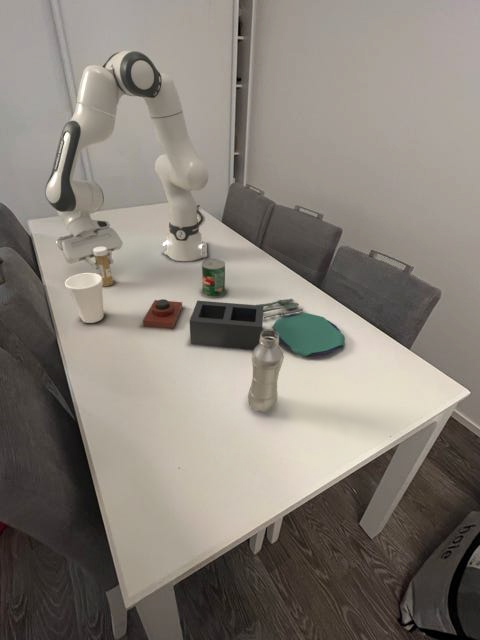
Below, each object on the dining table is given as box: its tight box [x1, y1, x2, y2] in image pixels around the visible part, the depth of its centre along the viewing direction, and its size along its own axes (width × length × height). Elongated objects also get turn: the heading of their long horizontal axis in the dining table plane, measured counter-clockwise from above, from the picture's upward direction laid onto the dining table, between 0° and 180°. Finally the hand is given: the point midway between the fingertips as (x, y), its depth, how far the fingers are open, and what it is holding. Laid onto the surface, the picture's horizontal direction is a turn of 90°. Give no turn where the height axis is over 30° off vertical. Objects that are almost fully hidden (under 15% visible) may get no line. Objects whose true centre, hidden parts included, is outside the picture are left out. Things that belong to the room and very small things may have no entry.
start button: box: [156, 298, 169, 310], centre depth 103 cm, size 4×4×2 cm
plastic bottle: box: [247, 329, 285, 413], centre depth 72 cm, size 6×7×20 cm
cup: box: [64, 272, 104, 324], centre depth 99 cm, size 10×10×13 cm
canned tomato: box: [201, 258, 226, 298], centre depth 116 cm, size 8×8×11 cm
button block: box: [142, 299, 183, 330], centre depth 104 cm, size 12×9×4 cm
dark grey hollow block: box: [189, 299, 265, 351], centre depth 96 cm, size 11×20×8 cm, turn 85°
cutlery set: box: [258, 298, 346, 357], centre depth 102 cm, size 20×30×2 cm, turn 23°
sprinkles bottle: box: [93, 247, 114, 287], centre depth 118 cm, size 5×5×14 cm
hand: (104, 265), depth 117 cm, fingers closed on sprinkles bottle, 4 cm apart
